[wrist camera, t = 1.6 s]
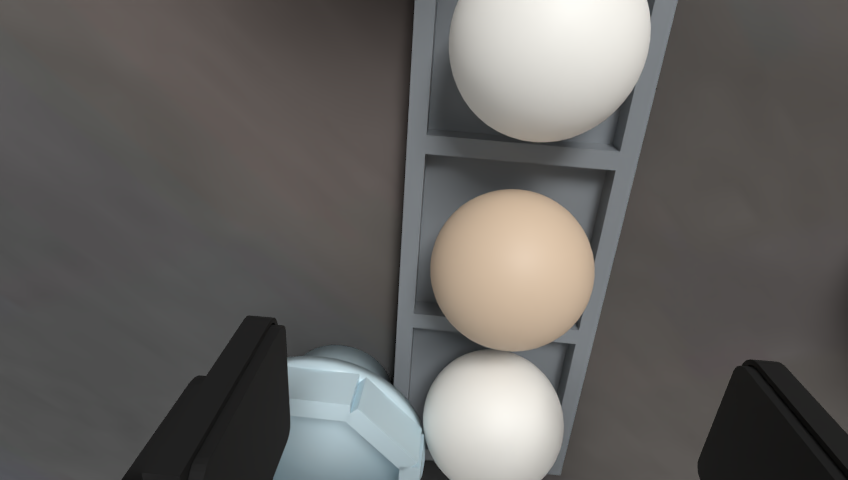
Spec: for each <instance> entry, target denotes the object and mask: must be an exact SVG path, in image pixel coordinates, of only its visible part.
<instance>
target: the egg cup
mask: <svg viewBox="0 0 848 480" xmlns="http://www.w3.org/2000/svg"><path fill="white" fill-rule="evenodd" d="M287 366H288V385H289V404H290V432H289V437H288V441H287V443H286V446H285V449H284V451H283V454H282V456H281V459H280V462H279V464H278V467H277V470H276V472H275V475H274V477H273V480H420V479H421V476H422V474H423V468H424V462H425V452H426V440H425V435H424V430H423V427H422V424H421V421H420V419H419V417H418V415H417V413H416V411H415V409H414V408H413V406H412V405H411V404H410V402H409V401H408V400H407V398H406V397H405V396H404V395H403V394H402V393H401V392H400V391H399V390H398V389H397V388H395V387H394V386H393V385H392V384H391V381H390V379H389V376H388V374H387V372H386V371H385V369H384V368H383V366H382V365H381V364H380V363H379V362H378V361H377V360H375V359H374V358H373V357H372V356H370V355H369V354H367V353H365V352H363V351H361V350H358V349H356V348H353V347H349V346H343V345H327V346H322V347H318V348H315V349H313V350H311V351H309V352H308V353H306V354H305V355H303V356H294V357H288V358H287Z"/></svg>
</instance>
